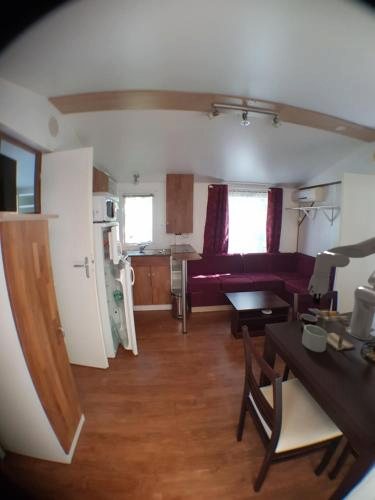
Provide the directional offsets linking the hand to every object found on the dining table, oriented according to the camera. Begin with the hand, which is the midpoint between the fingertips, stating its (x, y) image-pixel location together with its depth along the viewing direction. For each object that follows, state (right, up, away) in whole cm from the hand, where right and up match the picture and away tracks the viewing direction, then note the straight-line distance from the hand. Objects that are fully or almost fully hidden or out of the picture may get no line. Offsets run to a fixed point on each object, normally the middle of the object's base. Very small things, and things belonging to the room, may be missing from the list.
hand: (315, 303), depth 110 cm
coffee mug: (+1, -21, +10) cm, 23 cm away
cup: (-4, -23, -4) cm, 24 cm away
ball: (+6, -5, -5) cm, 9 cm away
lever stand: (+11, -23, 0) cm, 25 cm away
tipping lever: (+6, -10, -1) cm, 12 cm away
